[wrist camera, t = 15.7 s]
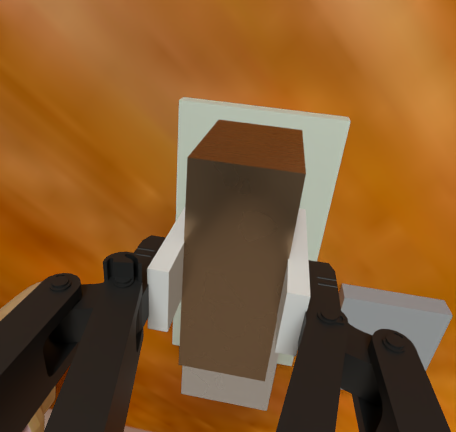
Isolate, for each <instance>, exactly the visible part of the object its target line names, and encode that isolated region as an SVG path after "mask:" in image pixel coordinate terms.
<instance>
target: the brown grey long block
mask: <svg viewBox="0 0 456 432" xmlns="http://www.w3.org/2000/svg"><path fill="white" fill-rule="evenodd" d="M305 176H306V168H305V156H304V144H303V133H302V130H298V129H290V128H282V127H274V126H266V125H259V124H251V123H243V122H235V121H227V120H218V121H217V122H216V123H215V125H214V126H213V127H212V128H211V129H210V131H209V132H208V133H207V134H206V135H205V137H204V138H203V139H202V140H201V142H200V143H199V144H198V145H197V146H196V148H195V149H194V150H193V151H192V152H191V154H190V155H189V156H188V157H187V179H186V203H185V226H184V259H183V282H182V299H181V322H180V346H179V365H183V367H182V387H181V394H186V395H191V396H196V397H200V398H205V399H210V400H215V401H220V402H225V403H230V404H235V405H240V406H245V407H250V408H255V409H260V410H265V411H267V408H268V403H269V398H270V394H271V389H272V384H273V380H274V375H275V370H276V365H277V361H278V356H279V353H276V352H275V342H276V326H277V313H278V308H279V303H280V298H281V293H282V288H283V283H284V278H285V273H286V268H287V263H288V259H289V257H290V252H291V247H292V242H293V237H294V232H295V227H296V222H297V217H298V212H299V207H300V202H301V197H302V191H303V186H304V181H305Z"/></svg>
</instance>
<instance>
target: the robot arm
mask: <svg viewBox="0 0 456 432" xmlns="http://www.w3.org/2000/svg"><path fill="white" fill-rule="evenodd" d="M184 226H185V207H184V209H183V211H182V212H181V214H180V216H179V217H178V219H177V220H176V222H175V224H174V225H173V227H172V229H171V230H170V232H169V234H168V235H167V237H166V238H165V237H158V236H152V235H151V236H149V237H148V238H146V239H144V240H143V241H142V242H141V243H140V245H139V246H138V248H137V249H136V250H135V252H134V253H130V252H118V253H114V254H111V255H109V256H108V257H106V258H105V259H104V261H103V269H104V283H99V284H84V285H81V282H80V279H79V278H78V277H77V276H76V275H73V274H69V273H62V274H56V275H53V276H50V277H48V278H47V279H45V280H44V281H42V282H41V283H40V284H39V285H38V286H37V287H36V288H35V289H34V290H33V291H32V292H31V293H30V294H29V295H28V296H26V297H25V298H24V299H23V300H22V301H21V302H20V303H19V304H18V305H17V306H16V307H15V308H14V309H13V310H12V311H11V312H10V313H8V314H7V315H6V316H5V317H4V318H3V319H2V320H1V321H0V432H22V431H23V430H24V429H25V427H26V426H27V424H28V423H29V422H30V420H31V419H32V417H33V416H34V415H35V413H36V412H37V410H38V409H39V408H40V406H41V405H42V403H43V402H44V401H45V399H46V398H47V396H48V395H49V394H50V392H51V391H52V390H53V388H54V387H55V385H56V384H57V383H58V381H59V380H60V378H61V377H62V376H63V374H64V373H65V371H66V370H67V369H68V367H69V366H70V368H69V370H68V373H67V375H66V378H65V380H64V383H63V385H62V388H61V390H60V393H59V395H58V398H57V400H56V403H55V405H54V408H53V410H52V413H51V416H50V418H49V420H48V423H47V426H46V428H45V430H44V432H124V427H125V422H126V417H127V413H128V408H129V403H130V398H131V394H132V389H133V384H134V379H135V374H136V370H137V365H138V360H139V355H140V350H141V346H142V341H143V326H144V324H145V322H146V320H147V318H148V328H149V329H154V330H160V331H165V332H168V330H169V328H170V325H171V323H172V320H173V318H174V316H175V313H176V311H177V308H178V306H179V304H180V301H181V299H182V282H183V259H184ZM297 350H298V354H297ZM275 352H276V353H282V354H287V355H292V356H296V354H297V357H296V361H295V364H294V368H293V372H292V375H291V379H290V383H289V386H288V390H287V394H286V397H285V401H284V405H283V408H282V412H281V416H280V419H279V423H278V427H277V430H276V432H335V427H336V419H337V411H338V403H339V395H340V388H341V389H343V390H346V391H348V392H350V393H352V397H353V402H354V407H355V413H356V418H357V423H358V428H359V432H451V431H450V428H449V426H448V424H447V421H446V419H445V416H444V414H443V412H442V409H441V407H440V405H439V402H438V400H437V397H436V395H435V393H434V390H433V388H432V386H431V383H430V381H429V378H428V376H427V374H426V371H425V369H424V367H423V364H422V362H421V359H420V357H419V355H418V352H417V350H416V348H415V346H414V344H413V343H412V341H411V340H409V339H408V338H407V337H406V336H405V335H403V334H401V333H399V332H397V331H394V330H390V329H379V330H377V331H375V332H374V334H373V335H370V334H368V333H365V332H363V331H361V330H359V329H357V328H355V327H353V326H352V325H350V324H349V323H348V318H347V317H346V316H345V314H344V313H343V312H342V311H341V306H340V299H339V293H338V288H337V281H336V275H335V271H334V270H333V268H332V267H331V266H330V264H329V263H323V262H317V261H311V260H308V243H307V224H306V209H300V208H299V212H298V217H297V222H296V227H295V232H294V237H293V242H292V247H291V252H290V257H289V259H288V263H287V268H286V273H285V278H284V283H283V288H282V293H281V298H280V303H279V308H278V313H277V326H276V342H275ZM70 364H71V365H70Z"/></svg>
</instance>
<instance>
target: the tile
mask: <svg viewBox="0 0 456 432" xmlns="http://www.w3.org/2000/svg"><path fill="white" fill-rule="evenodd" d="M339 299H340V306H341V311H342V312H343V313H344V314H345V316H346V317H347V318H348V323H349V324H350V325H352V326H353V327H355V328H357V329H359V330H361V331H363V332H365V333H368V334H370V335H373V334H374V332H375V331H377V330H379V329H390V330H394V331H397V332H399V333H401V334H403V335H405V336H406V337H407V338H408V339H409V340H411V341H412V343H413V344H414V346H415V348H416V350H417V352H418V355H419V357H420V359H421V362H422V364H423V367H424V369H425V371H426V369H427V367H428V365H429V363H430V361H431V359H432V357H433V355H434V353H435V351H436V349H437V347H438V345H439V343H440V341H441V339H442V337H443V335H444V332H445V330H446V328H447V326H448V324H449V322H450V320H451V318H452V316H453V315H452V313H451V312H450V310H449V308H448V306H447V304H446V303H445V301H444V300H438V299H432V298H426V297H420V296H414V295H408V294H402V293H396V292H390V291H384V290H378V289H372V288H365V287H359V286H353V285H347V284H342V285H341V288H340V292H339ZM340 389H341V388H340Z"/></svg>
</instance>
